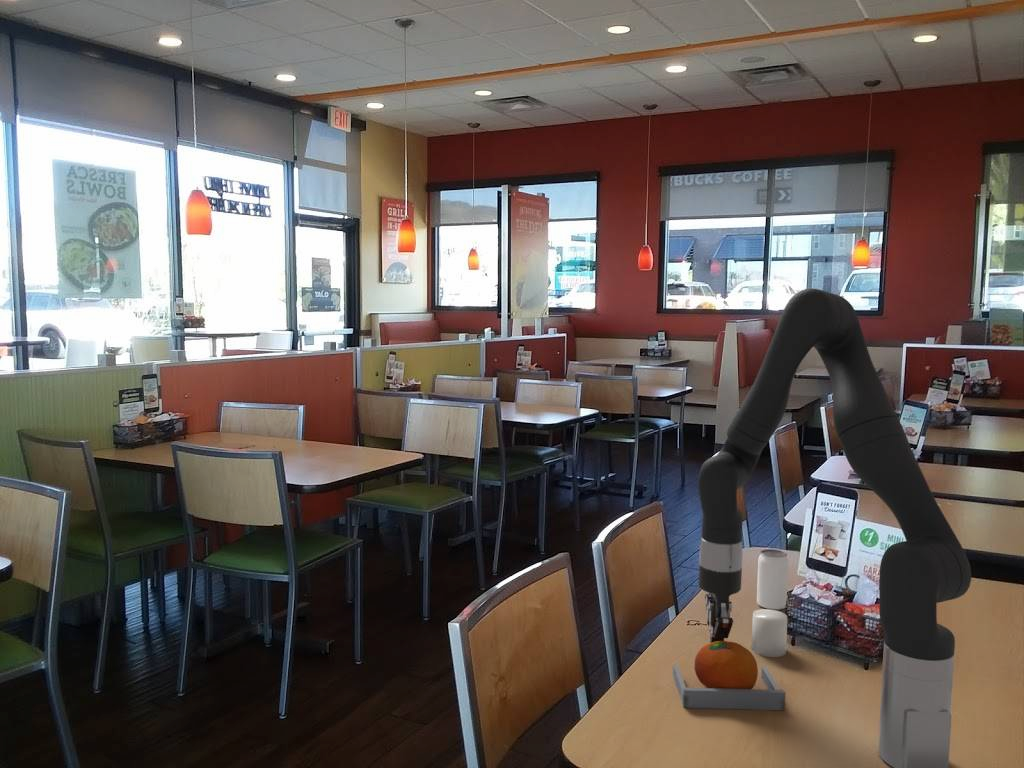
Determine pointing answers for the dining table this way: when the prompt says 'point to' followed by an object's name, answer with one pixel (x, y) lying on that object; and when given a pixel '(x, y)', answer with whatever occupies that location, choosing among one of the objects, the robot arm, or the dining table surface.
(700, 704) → the grey u-shaped bracket
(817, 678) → the dining table surface
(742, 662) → the fruit
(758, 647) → the white rounded cube
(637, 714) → the dining table surface
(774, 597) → the can
